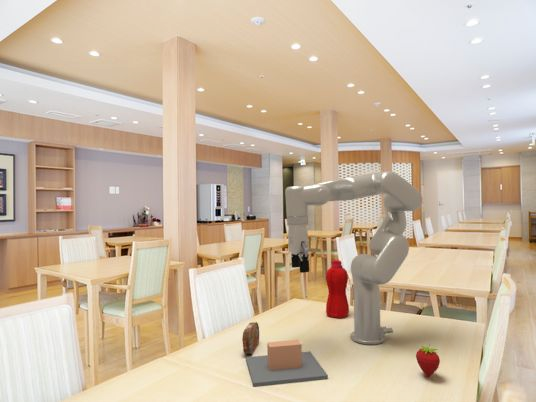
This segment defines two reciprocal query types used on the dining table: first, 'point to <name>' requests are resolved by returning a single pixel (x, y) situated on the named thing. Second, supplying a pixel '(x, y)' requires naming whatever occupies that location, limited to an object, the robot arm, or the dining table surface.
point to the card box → (284, 354)
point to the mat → (284, 371)
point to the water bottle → (337, 291)
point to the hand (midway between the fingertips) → (300, 269)
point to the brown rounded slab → (250, 338)
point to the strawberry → (428, 360)
